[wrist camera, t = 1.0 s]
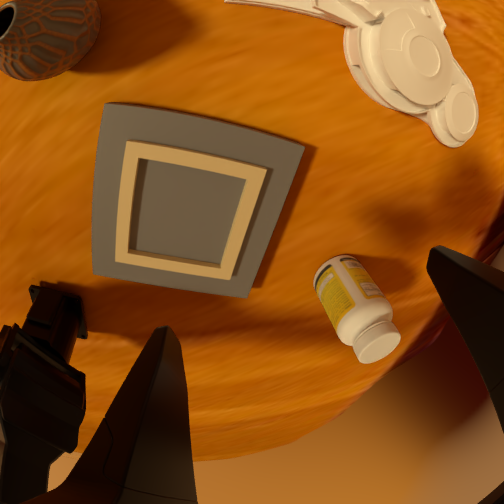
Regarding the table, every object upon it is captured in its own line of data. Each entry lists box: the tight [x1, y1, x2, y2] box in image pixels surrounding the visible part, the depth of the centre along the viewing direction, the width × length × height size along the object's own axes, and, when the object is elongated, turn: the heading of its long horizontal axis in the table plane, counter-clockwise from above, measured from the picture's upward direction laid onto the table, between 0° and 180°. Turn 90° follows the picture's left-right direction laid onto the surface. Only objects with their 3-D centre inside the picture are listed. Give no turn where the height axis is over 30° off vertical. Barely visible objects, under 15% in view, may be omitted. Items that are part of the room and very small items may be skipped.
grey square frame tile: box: [92, 102, 305, 298], centre depth 20 cm, size 14×14×2 cm
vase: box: [0, 0, 101, 81], centre depth 7 cm, size 7×7×9 cm
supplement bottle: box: [314, 255, 401, 364], centre depth 23 cm, size 5×5×10 cm
